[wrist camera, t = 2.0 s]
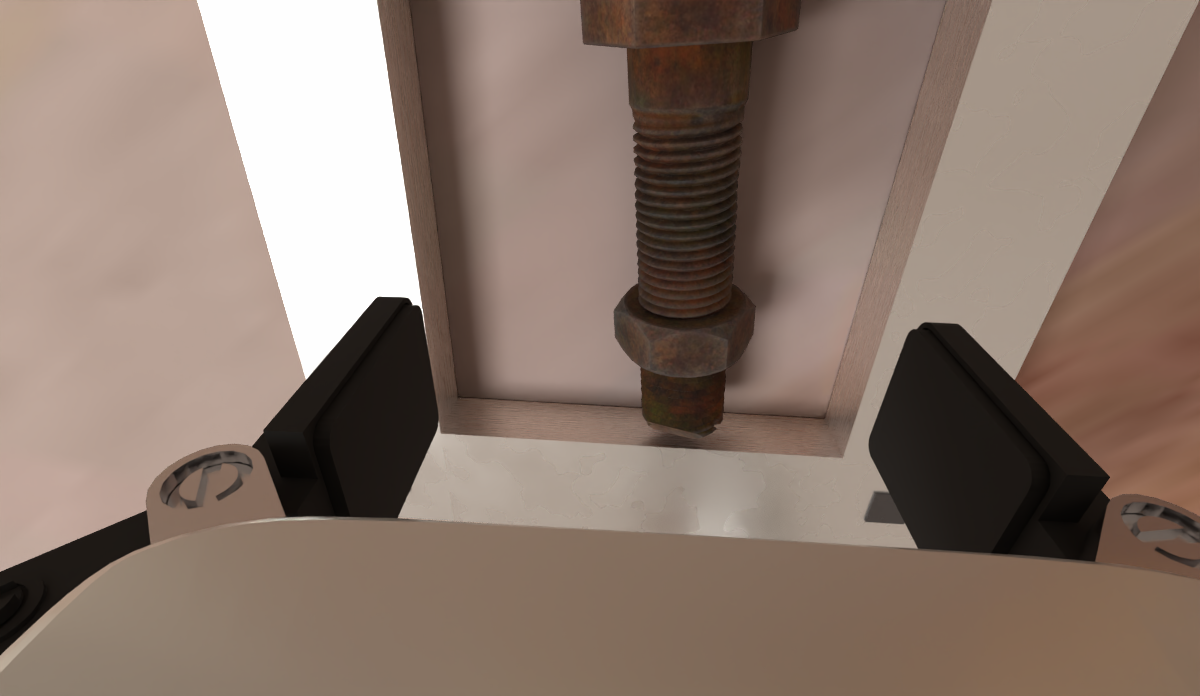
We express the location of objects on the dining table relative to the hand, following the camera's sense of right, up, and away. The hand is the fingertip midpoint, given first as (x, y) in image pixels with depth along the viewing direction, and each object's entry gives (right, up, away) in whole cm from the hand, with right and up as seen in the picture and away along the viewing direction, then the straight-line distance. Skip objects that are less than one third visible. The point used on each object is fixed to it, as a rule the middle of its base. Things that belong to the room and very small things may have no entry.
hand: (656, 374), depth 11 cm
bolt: (+2, +5, +10) cm, 11 cm away
